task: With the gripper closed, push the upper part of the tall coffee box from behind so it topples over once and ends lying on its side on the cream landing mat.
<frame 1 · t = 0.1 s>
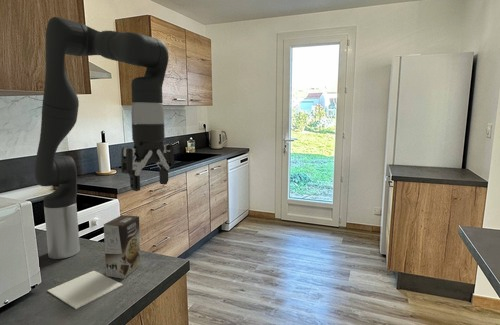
hand: (150, 187, 78), 29 cm above the countertop, tool pointing down, fingers open, 8 cm apart
coffee box: (124, 271, 95), on the countertop
landing mat: (86, 288, 85), on the countertop
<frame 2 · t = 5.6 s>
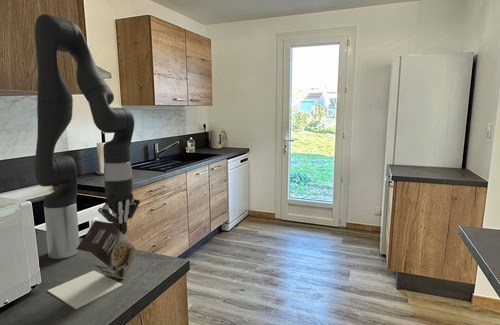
hand: (121, 234, 93), 12 cm above the countertop, tool pointing down, fingers closed
coffee box: (123, 263, 94), point 3 cm above the countertop
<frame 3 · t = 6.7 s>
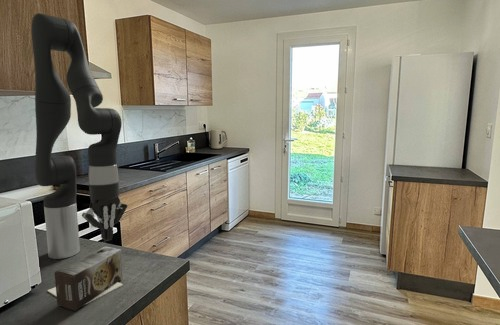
hand: (107, 239, 89), 12 cm above the countertop, tool pointing down, fingers closed
coffee box: (114, 261, 90), point 5 cm above the countertop, touching landing mat
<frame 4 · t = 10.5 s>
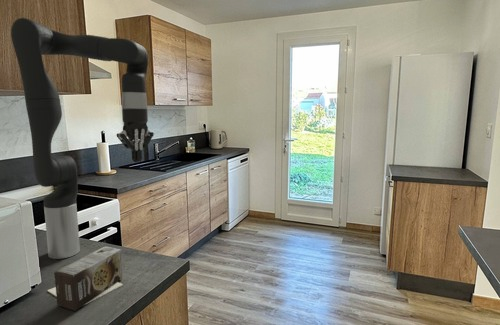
hand: (137, 161, 101), 32 cm above the countertop, tool pointing down, fingers closed
nothing on the countertop moved.
at the end: coffee box tilted 91°; coffee box touching landing mat; coffee box inside the target area (2.4 cm from its centre), point 4.9 cm above the countertop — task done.
